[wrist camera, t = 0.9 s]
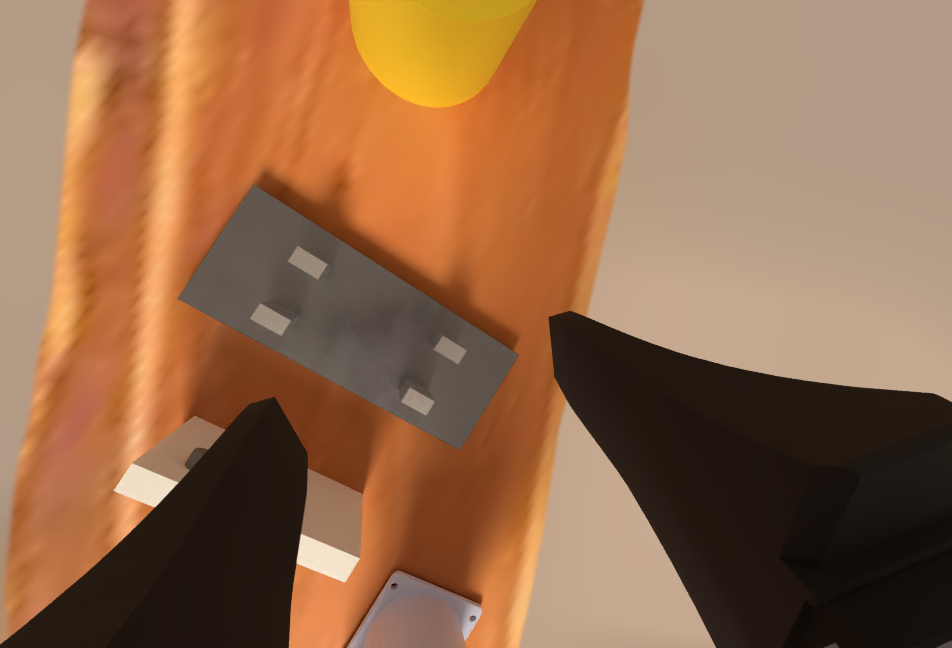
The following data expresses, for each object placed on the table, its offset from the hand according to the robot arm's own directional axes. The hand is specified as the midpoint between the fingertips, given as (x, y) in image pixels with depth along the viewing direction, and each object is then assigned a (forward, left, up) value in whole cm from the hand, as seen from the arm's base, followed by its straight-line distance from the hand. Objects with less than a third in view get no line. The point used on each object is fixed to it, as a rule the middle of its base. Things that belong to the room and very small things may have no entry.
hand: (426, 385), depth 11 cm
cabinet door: (-12, +1, -18) cm, 22 cm away
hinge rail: (-1, +1, -18) cm, 18 cm away
